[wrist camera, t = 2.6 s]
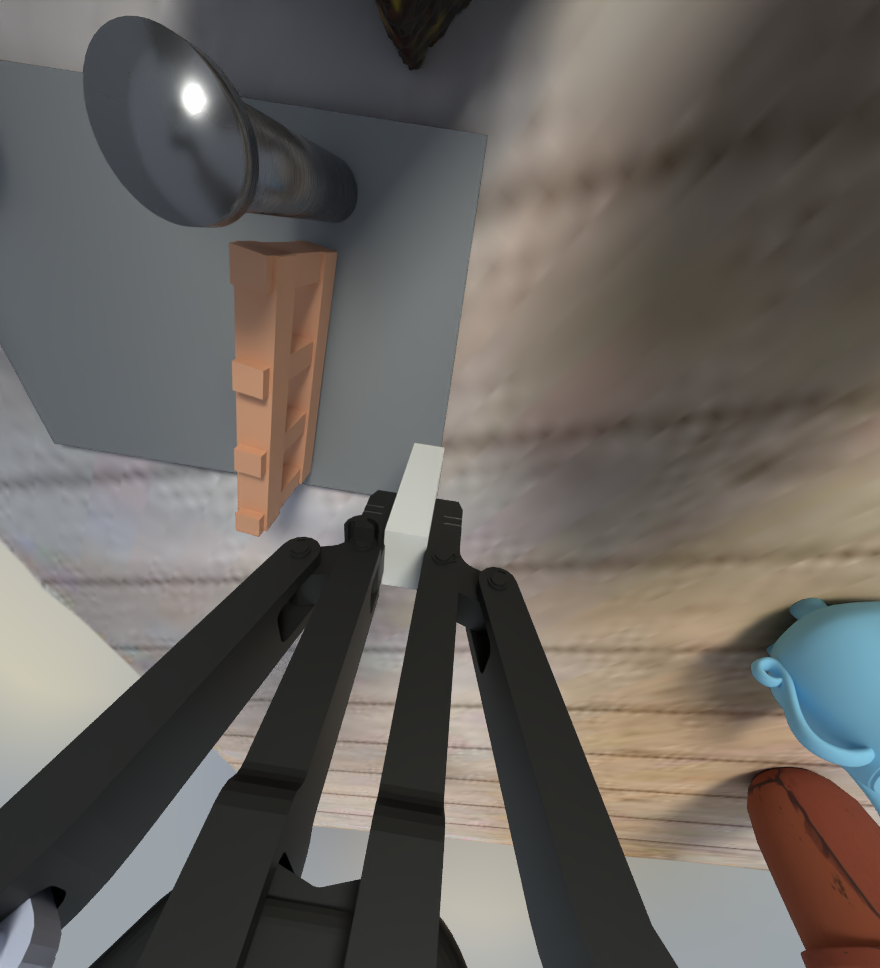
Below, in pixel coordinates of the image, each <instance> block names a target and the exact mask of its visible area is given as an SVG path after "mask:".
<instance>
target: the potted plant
mask: <svg viewBox="0 0 880 968" xmlns="http://www.w3.org/2000/svg"><path fill="white" fill-rule="evenodd" d="M747 809H748V813H749V817H750V820H751V823H752V826H753V830H754V833H755V836H756V840H757V843H758V845H759V847H760V850H761V852H762V854H763V856H764V859H765V861H766V863H767V866H768V868H769V870H770V872H771V875H772V877H773V879H774V881H775V884H776V886H777V888H778V890H779V893H780V895H781V897H782V899H783V901H784V903H785V906H786V908H787V910H788V912H789V915H790V917H791V919H792V921H793V923H794V925H795V928H796V930H797V932H798V934H799V936H800V938H801V941H802V943H803V945H804V947H805V949H806V950H805V951H803V952H801V956H802V959H803V961H804V964H805V966H806V968H880V827H879V826H878V825H877V823H876V822H875V821H874V820H873V819H872V818H871V816H870V815H869V814H868V813H867V812H866V811H865V809H864V808H863V807H862V806H861V805H860V804H859V802H858V801H857V800H856V799H854V798H853V797H852V796H850V795H849V794H848V793H846V792H845V791H844V790H842V789H841V788H840V787H838V786H837V785H836V784H835V783H833V782H832V781H831V780H829V779H827V778H825V777H823V776H820V775H818V774H816V773H814V772H812V771H809V770H805V769H800V768H776V769H770V770H767V771H764V772H761V773H760V774H758V775H757V776H756V777H755V778H754V779H753V781H752V783H751V784H750V786H749V788H748V801H747Z"/></svg>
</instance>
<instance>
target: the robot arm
mask: <svg viewBox="0 0 880 968" xmlns="http://www.w3.org/2000/svg"><path fill="white" fill-rule="evenodd" d="M444 449H445V448H443V447H437V446H431V445H425V444H419V443H414V446H413V449H412V452H411V455H410V458H409V461H408V464H407V467H406V470H405V472H404V475H403V478H402V481H401V484H400V487H399V490H398V493H395V492H388V491H382V490H377V491H376V492H375V493H374V494H372V495H371V496H370V498H369V500H368V503H367V505H366V507H365V509H364V512H363V514H362V515H359V516H354V517H352V518H350V519H348V520H347V522H346V523H345V524H344V533H345V542H344V543H342V544H339V545H334V546H323V547H320V545H319V543H318V542H317V541H316V540H314V539H312V538H308V537H297V538H294V539H291V540H289V541H287V542H286V543H285V544H283V545H282V546H281V547H280V548H279V549H278V550H277V551H276V552H275V553H274V554H273V555H271V556H270V557H269V558H268V559H267V560H266V561H265V562H264V563H263V564H262V565H261V566H260V567H259V568H257V569H256V570H255V571H254V572H253V573H252V574H251V575H250V576H249V577H248V578H247V579H246V580H245V581H244V582H242V583H241V584H240V585H239V586H238V587H237V588H236V589H235V590H234V591H233V592H232V593H231V594H230V595H229V596H227V597H226V598H225V599H224V600H223V601H222V602H221V603H220V604H219V605H218V606H217V607H216V608H215V609H214V610H212V611H211V612H210V613H209V614H208V615H207V616H206V617H205V618H204V619H203V620H202V621H201V622H200V623H199V624H197V625H196V626H195V627H194V628H193V629H192V630H191V631H190V632H189V633H188V634H187V635H186V636H185V637H184V638H182V639H181V640H180V641H179V642H178V643H177V644H176V645H175V646H174V647H173V648H172V649H171V650H170V651H169V652H167V653H166V654H165V655H164V656H163V657H162V658H161V659H160V660H159V661H158V662H157V663H156V664H155V665H154V666H152V667H151V668H150V669H149V670H148V671H147V672H146V673H145V674H144V675H143V676H142V677H141V678H140V679H139V680H138V681H137V682H135V683H134V684H133V685H132V686H131V687H130V688H129V689H128V690H127V691H126V692H125V693H124V694H123V695H121V696H120V697H119V698H118V699H117V700H116V701H115V702H114V703H113V704H112V705H111V706H110V707H109V708H107V710H105V711H104V712H103V713H102V714H101V715H100V716H99V717H98V718H97V719H96V720H95V721H94V722H92V724H90V725H89V726H88V727H87V728H86V729H85V730H84V731H83V732H82V733H81V734H80V735H79V736H78V737H76V738H75V739H74V740H73V741H72V742H71V743H70V744H69V745H68V746H67V747H66V748H65V749H64V750H62V751H61V752H60V753H59V754H58V755H57V756H56V757H55V758H54V759H53V760H52V761H51V762H50V763H49V764H48V765H46V766H45V767H44V768H43V769H42V770H41V771H40V772H39V773H38V774H37V775H36V776H35V777H34V778H32V779H31V780H30V781H29V782H28V783H27V784H26V785H25V786H24V787H23V788H22V789H21V790H20V791H19V792H17V794H15V795H14V796H13V797H12V798H11V799H10V800H9V801H8V802H7V803H6V804H5V805H4V806H2V807H1V808H0V968H52V966H53V963H54V961H55V956H56V953H57V951H58V948H59V943H60V938H61V929H62V928H63V927H64V926H66V925H67V924H68V923H69V922H70V921H71V920H72V919H73V918H74V917H75V916H76V915H77V914H78V913H79V912H80V911H81V910H82V909H83V908H84V907H85V906H86V905H87V903H88V902H89V901H90V900H91V899H92V898H93V897H94V896H95V895H96V894H97V893H98V892H99V891H100V889H101V888H102V887H103V886H104V885H105V884H106V883H107V882H108V881H109V880H110V878H111V877H112V876H113V875H114V874H115V872H116V871H117V870H118V869H119V868H120V866H121V865H122V864H123V863H124V861H125V860H126V859H127V858H128V857H129V855H130V854H131V853H132V852H133V850H134V849H135V848H136V846H137V845H138V844H139V843H140V841H141V840H142V839H143V838H144V836H145V835H146V834H147V832H148V831H149V830H150V828H151V827H152V826H153V825H154V823H155V822H156V821H157V819H158V818H159V817H160V815H161V814H162V813H163V812H164V810H165V809H166V808H167V806H168V805H169V804H170V802H171V801H172V800H173V798H174V797H175V796H176V795H177V793H178V792H179V791H180V789H181V788H182V786H183V785H184V784H185V783H186V781H187V780H188V779H189V778H190V776H191V775H192V774H193V772H194V771H195V770H196V769H197V767H198V766H199V765H200V763H201V762H202V761H203V759H204V758H205V757H206V756H207V754H208V753H209V752H210V750H211V749H212V748H213V746H214V745H215V744H216V743H217V741H218V740H219V739H220V737H221V736H222V735H223V733H224V732H225V731H226V730H227V728H228V727H229V726H230V724H231V723H232V722H233V720H234V719H235V718H236V717H237V715H238V714H239V713H240V711H241V710H242V709H243V707H244V706H245V705H246V704H247V702H248V701H249V700H250V698H251V697H252V696H253V694H254V693H255V692H256V691H257V689H258V688H259V687H260V685H261V684H262V683H263V681H264V680H265V679H266V678H267V676H268V675H269V674H270V672H271V671H272V670H273V668H274V667H275V666H276V664H277V663H278V662H279V661H280V659H281V658H282V657H283V655H284V654H285V653H286V651H287V650H288V649H289V648H290V646H291V645H292V644H293V642H294V641H295V640H296V638H297V637H298V636H299V635H300V633H301V632H302V631H303V629H304V628H305V630H304V632H303V634H302V636H301V638H300V640H299V643H298V645H297V647H296V649H295V651H294V654H293V656H292V658H291V660H290V662H289V664H288V667H287V669H286V671H285V673H284V675H283V678H282V680H281V682H280V684H279V686H278V689H277V691H276V693H275V695H274V697H273V699H272V702H271V704H270V706H269V708H268V710H267V713H266V715H265V717H264V719H263V721H262V723H261V726H260V728H259V730H258V732H257V734H256V737H255V739H254V741H253V743H252V745H251V747H250V750H249V752H248V754H247V756H246V758H245V761H244V762H243V764H242V766H241V768H240V769H239V771H238V772H237V773H236V774H235V775H234V776H233V777H231V778H230V779H229V780H228V781H227V783H226V784H225V785H224V787H223V788H222V789H221V791H220V793H219V795H218V797H217V799H216V800H215V802H214V804H213V807H212V808H211V811H210V813H209V815H208V817H207V819H206V821H205V823H204V825H203V827H202V830H201V831H200V834H199V836H198V838H197V840H196V842H195V844H194V846H193V848H192V850H191V852H190V854H189V857H188V859H187V861H186V863H185V865H184V867H183V869H182V871H181V874H180V875H179V878H178V880H177V882H176V884H175V886H174V888H173V890H172V891H170V892H169V893H168V894H167V895H165V896H164V897H163V898H162V899H160V900H159V901H158V902H157V903H156V904H155V905H154V906H153V907H152V908H151V909H150V910H148V911H147V912H146V913H145V914H144V915H143V916H142V917H141V918H140V919H139V920H138V921H137V922H136V923H135V924H134V925H133V926H132V927H131V928H130V929H129V930H127V931H126V932H125V933H124V934H123V935H122V936H121V937H120V938H119V939H118V940H117V941H116V942H115V943H114V944H113V945H112V946H111V947H110V948H109V949H108V950H107V951H105V952H104V953H103V954H102V955H101V956H100V957H99V958H98V959H97V960H96V961H95V962H94V963H93V964H92V965H91V966H90V967H89V968H467V966H466V963H465V960H464V959H463V956H462V953H461V951H460V949H459V947H458V945H457V943H456V941H455V939H454V937H453V935H452V933H451V932H450V930H449V929H448V927H447V926H446V925H445V923H444V921H443V920H442V919H441V918H440V901H441V884H442V869H443V854H444V838H445V813H444V790H445V776H446V762H447V747H448V733H449V719H450V705H451V691H452V676H453V662H454V648H455V634H456V622H457V623H459V624H461V625H463V626H465V627H466V632H467V637H468V641H469V646H470V650H471V655H472V659H473V664H474V669H475V673H476V678H477V682H478V687H479V691H480V696H481V700H482V705H483V709H484V714H485V719H486V723H487V728H488V732H489V737H490V741H491V746H492V750H493V755H494V759H495V764H496V768H497V773H498V778H499V782H500V787H501V791H502V796H503V800H504V805H505V809H506V814H507V818H508V823H509V828H510V832H511V837H512V841H513V846H514V850H515V855H516V859H517V864H518V868H519V873H520V877H521V882H522V887H523V891H524V895H525V900H526V905H527V909H528V914H529V918H530V922H531V926H532V930H533V934H534V937H535V941H536V945H537V949H538V952H539V956H540V959H541V962H542V965H543V968H678V966H677V965H676V963H675V961H674V960H673V958H672V957H671V955H670V954H669V952H668V950H667V949H666V947H665V945H664V944H663V943H662V941H661V939H660V938H659V936H658V935H657V933H656V931H655V930H654V928H653V926H652V924H651V922H650V919H649V917H648V914H647V912H646V909H645V907H644V904H643V901H642V899H641V896H640V894H639V892H638V889H637V886H636V884H635V881H634V879H633V876H632V874H631V871H630V868H629V866H628V863H627V861H626V858H625V856H624V853H623V851H622V848H621V846H620V843H619V841H618V838H617V835H616V833H615V830H614V828H613V825H612V823H611V820H610V818H609V815H608V813H607V810H606V808H605V805H604V802H603V800H602V797H601V795H600V792H599V790H598V787H597V785H596V782H595V780H594V777H593V775H592V772H591V769H590V767H589V764H588V762H587V759H586V757H585V754H584V752H583V749H582V747H581V744H580V742H579V739H578V736H577V734H576V731H575V729H574V726H573V724H572V721H571V719H570V716H569V714H568V711H567V709H566V706H565V703H564V701H563V698H562V696H561V693H560V691H559V688H558V686H557V683H556V681H555V678H554V676H553V673H552V670H551V668H550V665H549V663H548V660H547V658H546V655H545V653H544V650H543V648H542V645H541V643H540V640H539V637H538V635H537V632H536V630H535V627H534V625H533V622H532V620H531V617H530V615H529V612H528V610H527V607H526V604H525V602H524V599H523V597H522V594H521V592H520V589H519V587H518V584H517V582H516V580H515V578H514V577H513V575H511V574H510V573H509V572H508V571H506V570H504V569H501V568H497V567H490V568H486V569H484V570H483V571H479V570H477V569H475V568H473V567H471V566H469V565H468V564H467V563H465V561H464V560H463V559H462V557H461V555H460V540H461V525H462V512H463V510H462V508H461V506H460V504H459V502H455V501H449V500H443V499H437V494H438V488H439V481H440V475H441V468H442V462H443V455H444ZM381 579H382V584H385V585H391V586H397V587H403V588H409V589H416V590H417V593H416V599H415V604H414V609H413V614H412V620H411V625H410V630H409V635H408V641H407V646H406V651H405V656H404V662H403V667H402V672H401V677H400V683H399V688H398V693H397V698H396V704H395V709H394V714H393V719H392V725H391V730H390V735H389V740H388V746H387V751H386V756H385V761H384V766H383V772H382V777H381V782H380V787H379V792H378V797H377V801H376V805H375V810H374V814H373V819H372V824H371V829H370V835H369V840H368V845H367V850H366V855H365V861H364V866H363V871H362V877H361V879H359V880H354V881H350V882H345V883H340V884H335V885H330V886H326V887H320V888H319V887H314V886H312V885H311V884H309V883H308V882H306V881H305V880H303V879H301V874H302V871H303V867H304V864H305V860H306V857H307V853H308V848H309V844H310V838H311V832H312V826H313V822H314V818H315V814H316V810H317V807H318V804H319V800H320V797H321V793H322V790H323V786H324V783H325V779H326V776H327V773H328V769H329V766H330V762H331V759H332V755H333V752H334V748H335V745H336V741H337V738H338V735H339V731H340V728H341V724H342V721H343V717H344V714H345V710H346V707H347V704H348V700H349V697H350V693H351V690H352V686H353V683H354V679H355V676H356V673H357V669H358V666H359V662H360V659H361V655H362V652H363V648H364V645H365V642H366V638H367V635H368V631H369V628H370V624H371V621H372V617H373V614H374V611H375V607H376V604H377V600H378V597H379V586H380V583H381Z"/></svg>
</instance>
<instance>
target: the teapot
mask: <svg viewBox="0 0 880 968" xmlns="http://www.w3.org/2000/svg"><path fill="white" fill-rule="evenodd" d="M789 611H790V613H791V614H792V615H793V616H794V617H795V618H796V619H797V620H798V621H796V622H795V623H794V624H793V625H792V626H790V627H789V628H788V629H787V630H786V631H785V632H784V633H783V634H782V635H781V636H780V638H779V639H778V640H777V641H776V643H774V644H772V645H770V646H769V647H768V648H767V650H766V651H767V653H768V654H769V655H770V657H762V658H759V659H757V660H755V661H754V662H753V663H752V665H751V671H752V674H753V676H754V677H755V679H756V680H757V681H758V682H760V683H761V684H763V685H765V686H767V687H770V689H771V692H772V695H773V696H774V698H775V699H776V701H777V702H778V704H779V705H780V706H781V708H782V709H783V710H784V713H785V716H786V719H787V722H788V725H789V727H790V729H791V731H792V732H793V734H794V735H795V737H796V738H797V739H798V741H799V742H800V743H801V744H802V745H803V746H804V747H805V748H807V749H808V750H809V751H810V752H812V753H813V754H815V755H817V756H818V757H820V758H822V759H824V760H827V761H829V762H832V763H834V764H838V765H840V766H841V767H842V768H844V769H845V770H846V771H847V772H848V773H849V775H850V776H851V777H852V778H853V779H854V781H855V782H856V783H857V784H858V785H859V787H860V788H861V789H862V790H863V792H864V793H865V794H866V796H867V797H868V798H869V800H870V801H871V803H872V804H873V806H874V807H875V809H876V811H877V812H878V814H879V816H880V601H870V602H854V603H844V604H836V605H831V606H827V605H826V604H825V602H824V601H823V600H821V599H818V598H808V599H803V600H800V601H798V602H796V603H795V604H793V605H792V606H791V607H790V610H789ZM765 671H768V674H767V673H766V672H765Z"/></svg>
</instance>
